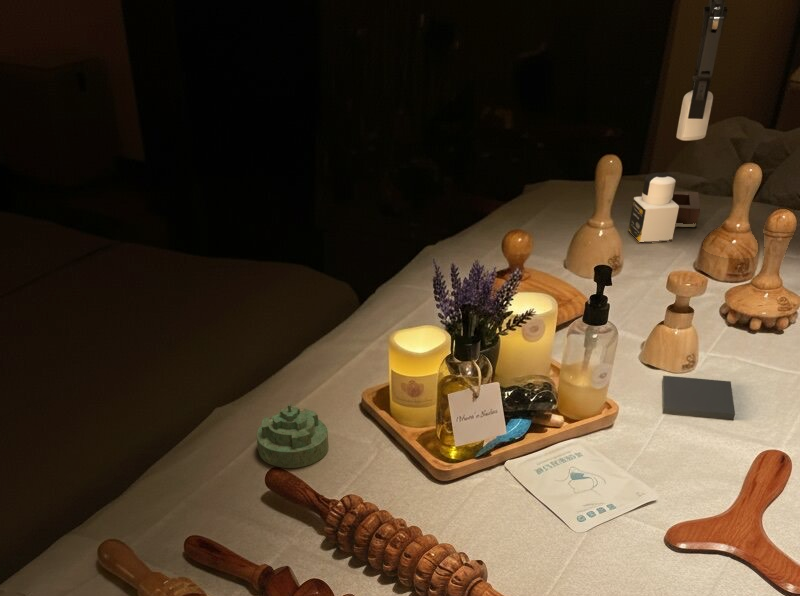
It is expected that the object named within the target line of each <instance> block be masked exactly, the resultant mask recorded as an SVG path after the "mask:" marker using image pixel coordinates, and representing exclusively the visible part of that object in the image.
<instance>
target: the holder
mask: <svg viewBox="0 0 800 596" xmlns="http://www.w3.org/2000/svg"><path fill="white" fill-rule="evenodd" d="M672 200H673V201H674V202H675V203H676V204H677V205H678V206H679V210H678V215H677V219H676V223H683V224H693V223H694V224H695V223H696V224H697V225H698V223H699V222H698V221H699V217H700V212H701V203H700V196H699V192H698V191H679V190H674V193H673V198H672Z"/></svg>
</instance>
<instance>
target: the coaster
mask: <svg viewBox="0 0 800 596" xmlns="http://www.w3.org/2000/svg"><path fill="white" fill-rule="evenodd" d="M661 395H662V397H661V399H662V401H661V403H662V404H661V405H662V414H664V415H665V414H666V415H678V416H688V417H696V418H697V417H698V418H709V419H718V420H729V421H734V420H735V417H736V409H735V402H734V394H733V388H732V381H731V380H719V379H707V378H697V377H684V376H674V375H673V376H672V375H662V380H661Z"/></svg>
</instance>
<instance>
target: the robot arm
mask: <svg viewBox="0 0 800 596" xmlns="http://www.w3.org/2000/svg"><path fill="white" fill-rule="evenodd" d="M725 3H726V0H709V2H708V5H706V6H703V11H702V22H701V28H700V33H701V36H700V42H699V45H698V46H699V47H698V52H697V58H696V61H695V69H694V72H695V73H694V75H693V76H692V77H691V78H692V79H691V81H692V86H691V90H690V91H692V90H693V94H692V99H691V105H690V110H689V115H688V119H703V115H704V110H705V105H706V100H707V95H708V91H710V85H711V79H712V78H713V76H714V68H715V62H716V59H717V58H716V57H717V53H718V49H719V42H720V38H721V36H722V34H723V29H724V24H725V20H726V19H727V16H728V9H729V8H728V6H725ZM694 83H695V84H694Z"/></svg>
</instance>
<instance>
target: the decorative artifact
mask: <svg viewBox="0 0 800 596" xmlns="http://www.w3.org/2000/svg"><path fill="white" fill-rule="evenodd" d="M328 432H329V431H328V427H327V425H326V424H325V423H324V422H323V421H322V420H320V419H319V415H318V413H316V412H315V411H313V410H311V409H309V408H303V409H302V410H301V409H300V408H299V407H298V406H292V404H290V403H288V404H287V407H286V408H281V409H280V411H279V412H278V413H276V414H274V415H273V416H271V417H268V416H267V417H266V416H265V417H264V418H263V419H262V421H261V425H260V427H259V428H258V429H257V431H256V445H257V451H258V456H259V457H260V459H262V460H263V461H264V462H265V463H266V464H268V465H271V466H274V467H277V468H283V469H295V468H296V469H297V468H304V467H307V466H310V465H313V464H315V463H317V462H319V461H320V460H322V459H323V458H324V457H325V456H326V455H327V453H328V451H329V448H330V447H329V433H328Z"/></svg>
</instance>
